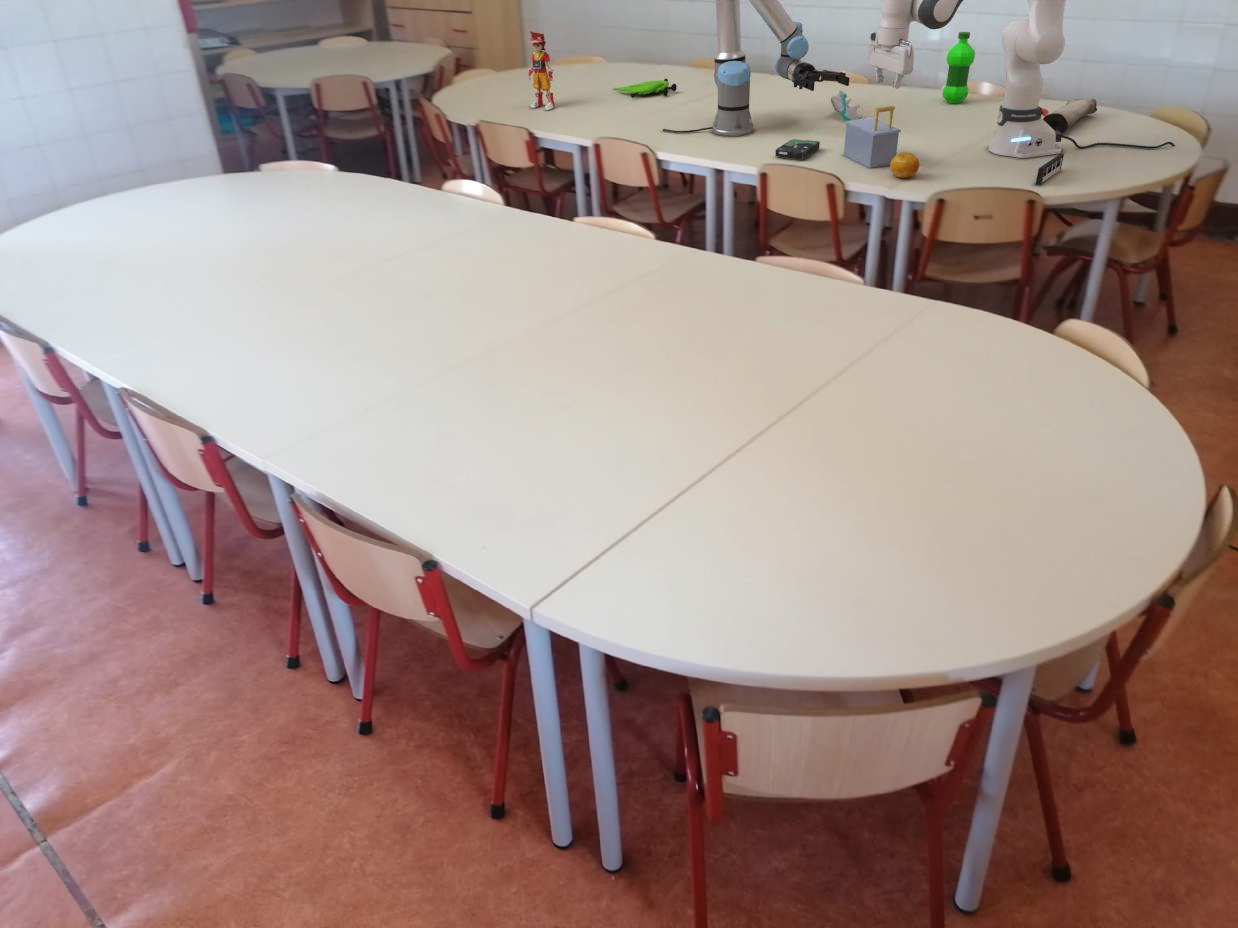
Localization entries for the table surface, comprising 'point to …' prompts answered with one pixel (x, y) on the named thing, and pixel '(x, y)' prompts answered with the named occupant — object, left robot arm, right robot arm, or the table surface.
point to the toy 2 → (648, 88)
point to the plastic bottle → (958, 69)
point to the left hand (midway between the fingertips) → (830, 84)
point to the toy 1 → (541, 71)
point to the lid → (876, 123)
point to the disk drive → (797, 149)
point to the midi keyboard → (1049, 169)
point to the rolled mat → (1070, 113)
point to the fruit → (904, 165)
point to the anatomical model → (845, 107)
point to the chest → (870, 147)
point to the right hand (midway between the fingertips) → (887, 85)
